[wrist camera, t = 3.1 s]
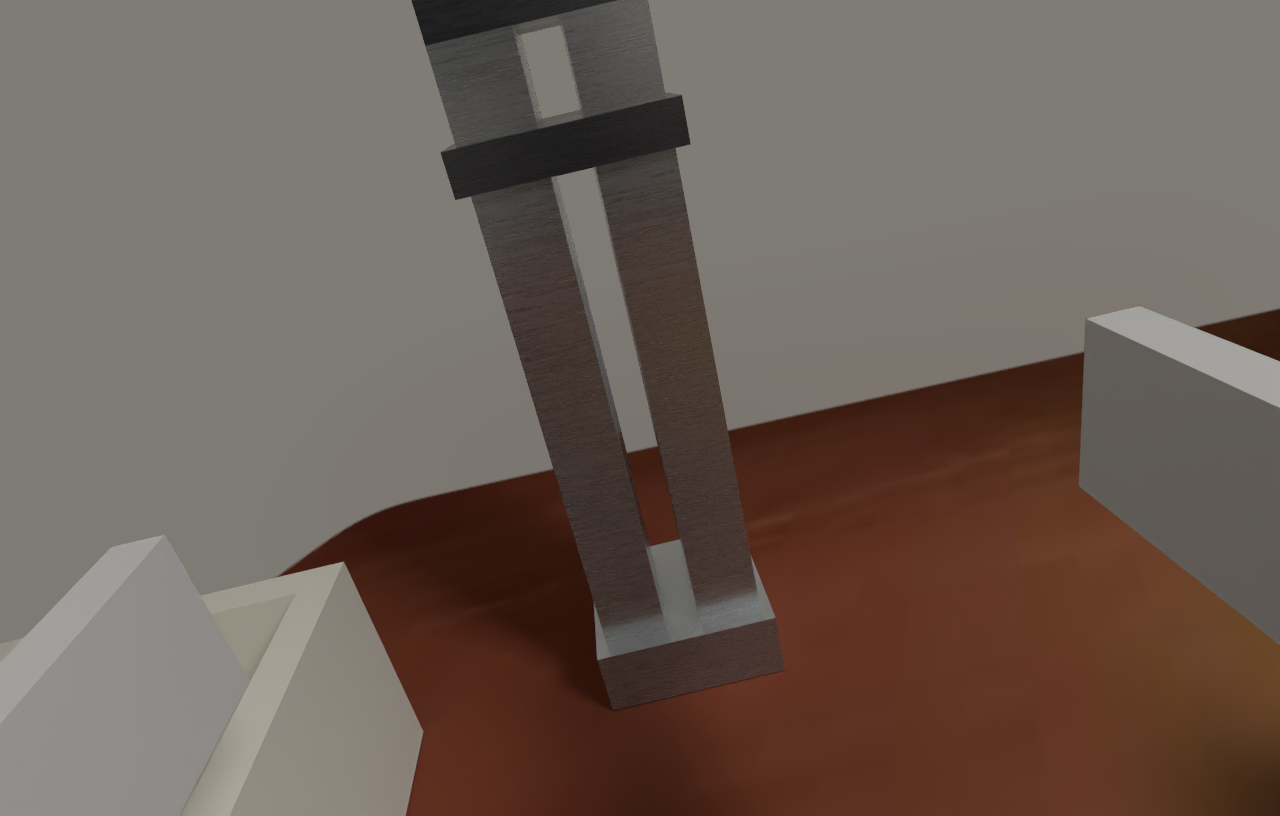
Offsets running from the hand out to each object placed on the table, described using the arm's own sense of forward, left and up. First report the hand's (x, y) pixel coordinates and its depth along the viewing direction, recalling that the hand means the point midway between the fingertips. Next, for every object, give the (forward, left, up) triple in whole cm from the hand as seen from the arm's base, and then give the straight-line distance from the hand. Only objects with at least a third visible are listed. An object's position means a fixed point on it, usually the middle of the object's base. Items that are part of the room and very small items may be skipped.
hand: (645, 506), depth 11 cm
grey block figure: (0, -10, -11) cm, 15 cm away
